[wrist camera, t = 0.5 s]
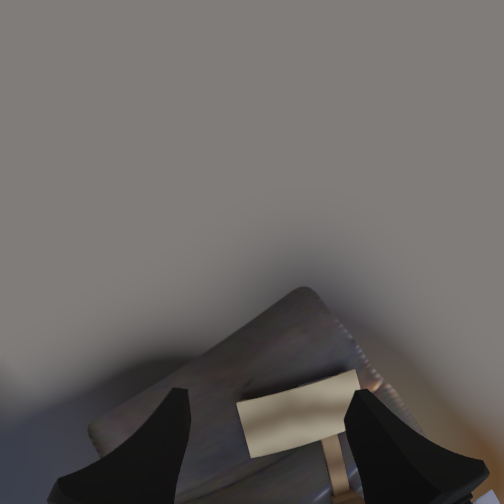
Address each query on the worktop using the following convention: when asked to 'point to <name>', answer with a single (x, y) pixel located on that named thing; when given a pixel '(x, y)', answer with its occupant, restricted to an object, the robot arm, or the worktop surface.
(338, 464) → the wooden mallet
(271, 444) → the small wooden table
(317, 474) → the worktop surface
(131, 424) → the worktop surface
